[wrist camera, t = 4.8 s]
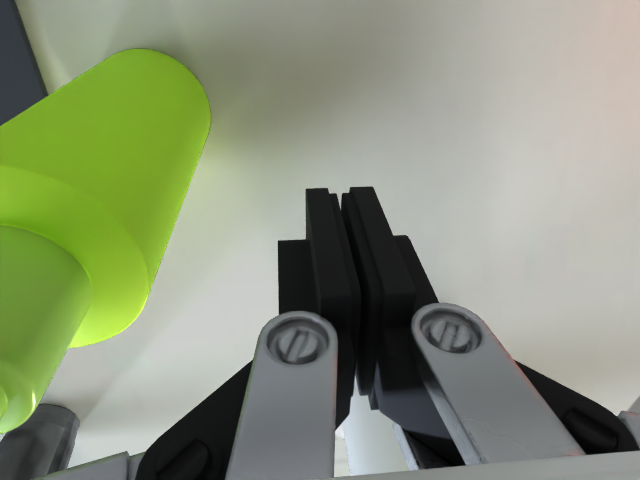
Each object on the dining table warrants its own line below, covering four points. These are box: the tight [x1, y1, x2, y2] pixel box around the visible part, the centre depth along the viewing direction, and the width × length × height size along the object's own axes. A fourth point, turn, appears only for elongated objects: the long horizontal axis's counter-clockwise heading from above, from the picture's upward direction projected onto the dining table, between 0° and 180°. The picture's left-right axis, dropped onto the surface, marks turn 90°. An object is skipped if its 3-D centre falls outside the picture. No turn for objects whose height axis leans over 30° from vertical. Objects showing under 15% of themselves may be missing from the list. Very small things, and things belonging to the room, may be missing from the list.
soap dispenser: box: [0, 49, 211, 434], centre depth 13 cm, size 6×7×20 cm
